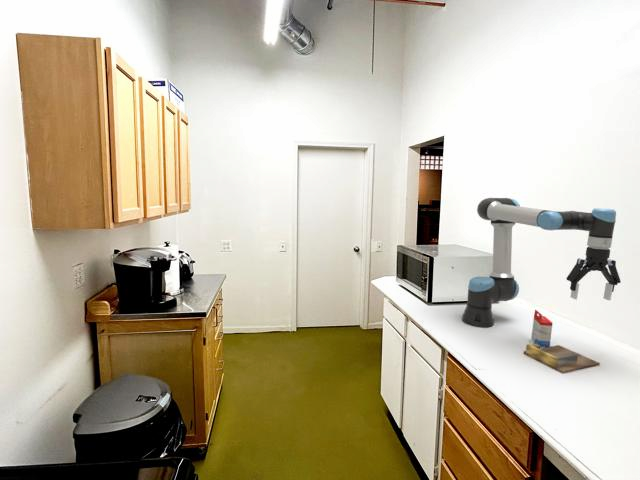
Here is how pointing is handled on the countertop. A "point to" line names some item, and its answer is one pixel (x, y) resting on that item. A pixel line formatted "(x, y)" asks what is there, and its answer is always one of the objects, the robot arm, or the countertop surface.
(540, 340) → the ink box
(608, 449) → the countertop surface
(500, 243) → the robot arm
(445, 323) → the countertop surface
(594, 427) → the countertop surface
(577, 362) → the board
